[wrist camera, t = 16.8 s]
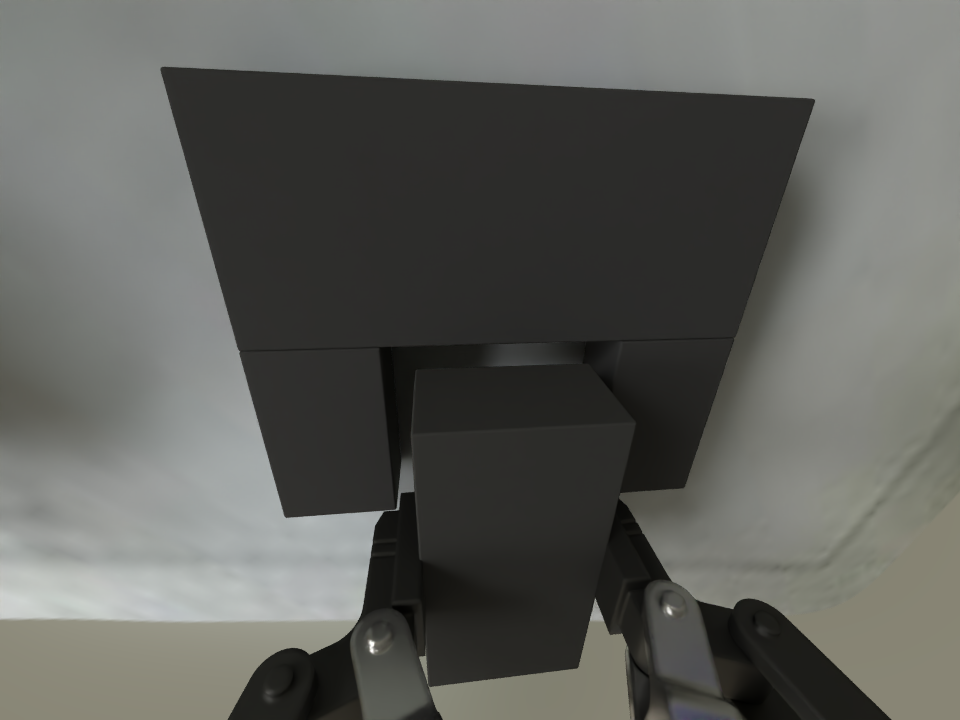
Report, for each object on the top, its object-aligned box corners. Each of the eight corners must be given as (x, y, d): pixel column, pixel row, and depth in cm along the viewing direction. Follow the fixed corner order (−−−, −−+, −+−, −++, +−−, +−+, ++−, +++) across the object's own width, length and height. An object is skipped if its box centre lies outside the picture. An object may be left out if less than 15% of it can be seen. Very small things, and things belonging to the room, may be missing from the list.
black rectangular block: (588, 362, 11) (638, 423, 9) (553, 583, 16) (578, 669, 13) (415, 368, 11) (410, 435, 8) (428, 596, 15) (428, 688, 12)
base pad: (740, 112, 11) (817, 98, 9) (650, 445, 16) (685, 488, 14) (220, 89, 10) (157, 65, 7) (306, 466, 15) (284, 518, 13)
